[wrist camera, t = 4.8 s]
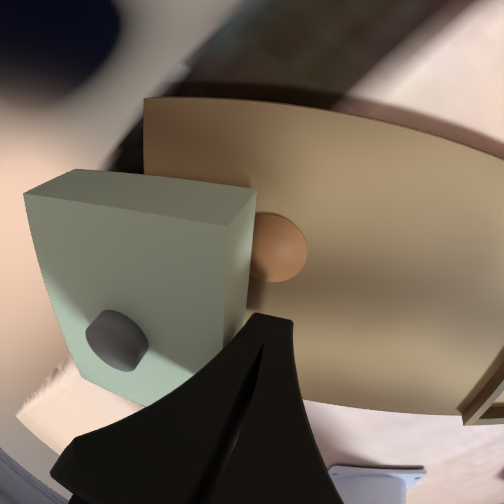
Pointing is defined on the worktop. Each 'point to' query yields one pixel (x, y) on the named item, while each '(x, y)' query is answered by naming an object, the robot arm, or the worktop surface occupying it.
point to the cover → (143, 273)
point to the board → (359, 247)
